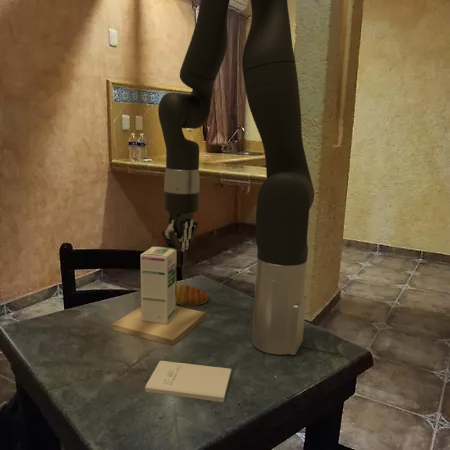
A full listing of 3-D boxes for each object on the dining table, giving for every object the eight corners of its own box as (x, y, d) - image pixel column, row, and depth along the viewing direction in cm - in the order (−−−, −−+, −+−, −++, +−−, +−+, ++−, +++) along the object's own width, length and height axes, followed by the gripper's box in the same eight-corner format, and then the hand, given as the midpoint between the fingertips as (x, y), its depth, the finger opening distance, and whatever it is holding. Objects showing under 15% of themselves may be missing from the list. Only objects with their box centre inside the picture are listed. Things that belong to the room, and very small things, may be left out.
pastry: (208, 297, 107) (209, 282, 106) (206, 308, 100) (206, 293, 99) (170, 295, 107) (170, 280, 106) (165, 306, 100) (165, 290, 100)
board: (205, 317, 95) (205, 312, 94) (173, 345, 82) (173, 339, 82) (150, 305, 100) (150, 300, 100) (111, 329, 87) (111, 324, 87)
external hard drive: (223, 406, 66) (144, 395, 68) (231, 376, 74) (160, 367, 76) (224, 396, 66) (144, 385, 67) (231, 367, 74) (160, 358, 75)
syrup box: (167, 325, 88) (168, 255, 84) (140, 321, 89) (140, 252, 86) (176, 313, 93) (178, 248, 90) (150, 310, 94) (151, 245, 91)
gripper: (182, 195, 87) (180, 277, 91) (210, 187, 99) (207, 261, 103) (150, 191, 90) (149, 271, 94) (181, 184, 102) (179, 256, 105)
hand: (180, 265), depth 98 cm, fingers closed
